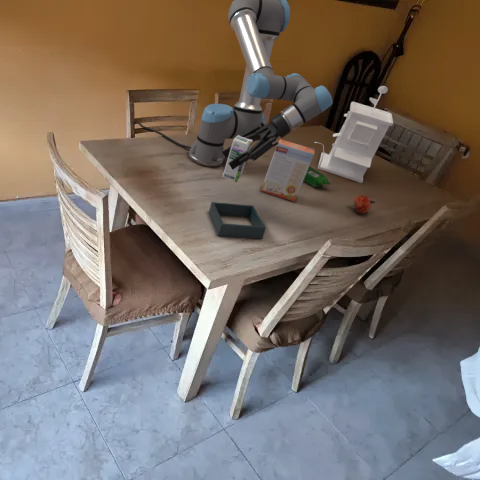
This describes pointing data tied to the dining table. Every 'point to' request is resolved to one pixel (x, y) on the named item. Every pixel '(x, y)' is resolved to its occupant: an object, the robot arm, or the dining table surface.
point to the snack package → (315, 178)
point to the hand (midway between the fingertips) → (227, 160)
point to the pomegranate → (362, 204)
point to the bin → (235, 229)
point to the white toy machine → (357, 140)
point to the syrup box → (236, 150)
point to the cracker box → (287, 170)
